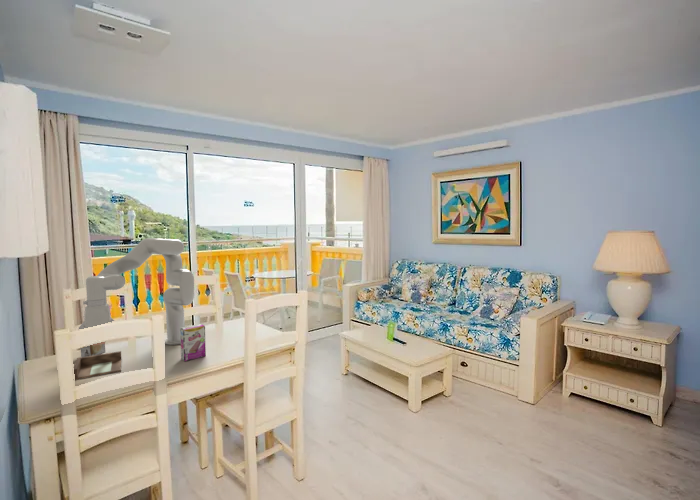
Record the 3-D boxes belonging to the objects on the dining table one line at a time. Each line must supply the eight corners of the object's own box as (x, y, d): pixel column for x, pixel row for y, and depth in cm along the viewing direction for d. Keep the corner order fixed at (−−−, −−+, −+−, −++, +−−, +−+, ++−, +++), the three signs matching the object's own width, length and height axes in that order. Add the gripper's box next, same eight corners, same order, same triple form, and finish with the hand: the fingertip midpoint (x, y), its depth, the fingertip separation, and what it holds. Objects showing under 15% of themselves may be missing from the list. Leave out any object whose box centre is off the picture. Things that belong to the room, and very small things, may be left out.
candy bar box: (184, 362, 186) (183, 329, 185) (180, 359, 190) (179, 327, 188) (206, 356, 194) (205, 325, 193) (202, 353, 198) (201, 323, 196)
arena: (121, 360, 189) (121, 351, 188) (120, 371, 175) (120, 361, 175) (77, 367, 180) (77, 358, 179) (73, 380, 166) (72, 369, 166)
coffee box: (95, 351, 202) (93, 322, 201) (105, 351, 201) (103, 322, 199) (80, 357, 193) (78, 327, 192) (90, 358, 192) (88, 327, 190)
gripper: (73, 306, 167) (75, 346, 168) (118, 302, 175) (120, 340, 177) (75, 303, 173) (77, 341, 175) (118, 299, 182) (120, 335, 183)
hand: (99, 340), depth 176 cm, fingers closed on bar, 5 cm apart
